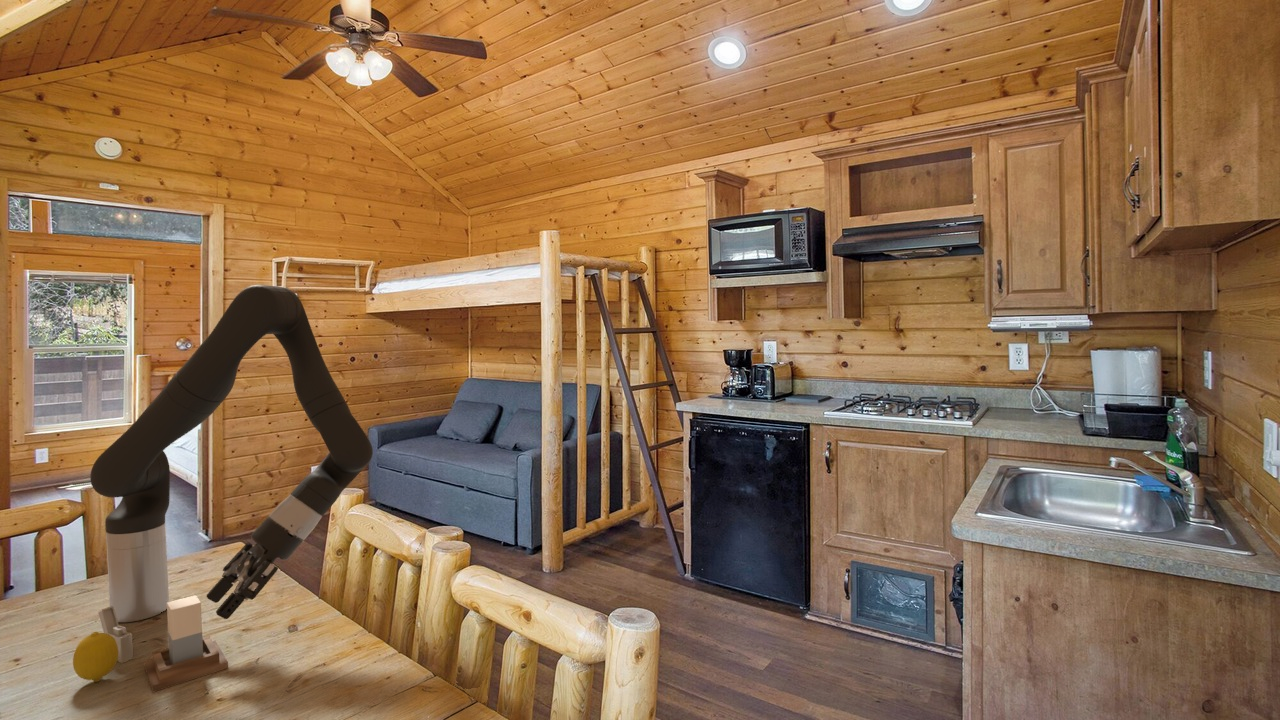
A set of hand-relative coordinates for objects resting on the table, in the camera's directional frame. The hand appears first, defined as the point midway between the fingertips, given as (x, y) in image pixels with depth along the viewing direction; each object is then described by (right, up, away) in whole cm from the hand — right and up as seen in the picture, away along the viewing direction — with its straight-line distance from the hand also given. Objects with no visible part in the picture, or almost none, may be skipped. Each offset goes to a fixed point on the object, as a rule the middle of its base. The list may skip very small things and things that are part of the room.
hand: (215, 608), depth 109 cm
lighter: (-18, -9, +2) cm, 20 cm away
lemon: (-15, -9, -6) cm, 19 cm away
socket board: (-3, -9, -2) cm, 10 cm away
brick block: (-3, -8, -2) cm, 9 cm away
